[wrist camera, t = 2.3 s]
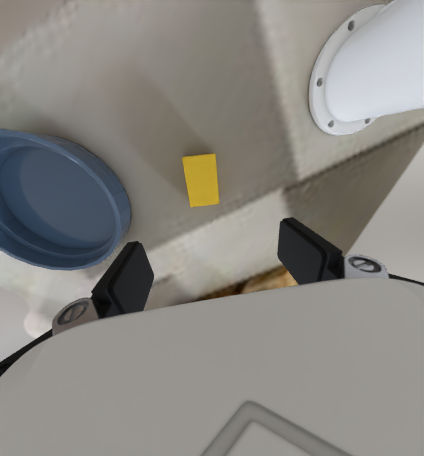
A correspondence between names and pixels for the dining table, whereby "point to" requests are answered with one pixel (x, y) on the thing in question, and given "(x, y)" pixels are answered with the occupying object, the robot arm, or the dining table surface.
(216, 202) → the sponge
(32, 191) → the bowl
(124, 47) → the dining table surface
